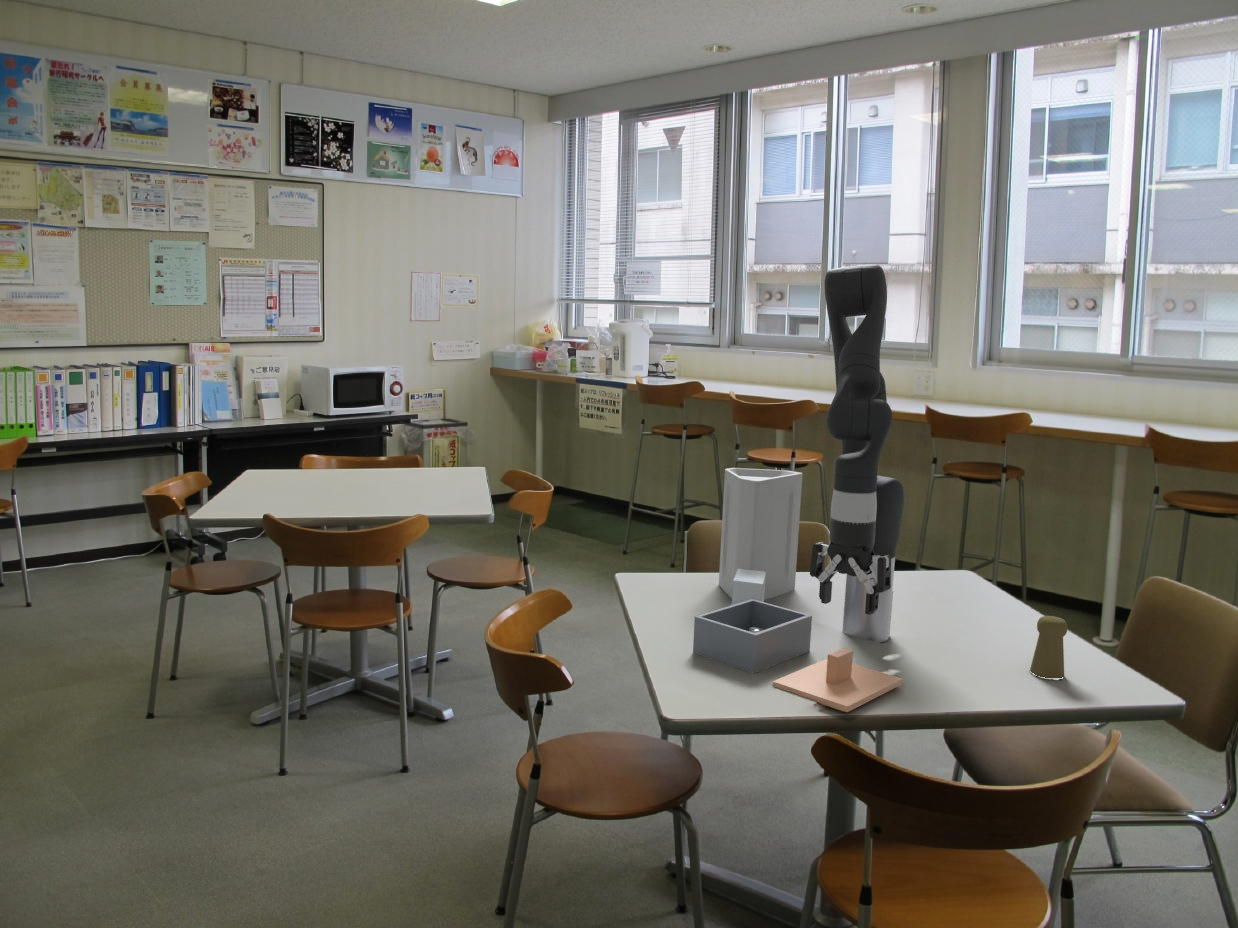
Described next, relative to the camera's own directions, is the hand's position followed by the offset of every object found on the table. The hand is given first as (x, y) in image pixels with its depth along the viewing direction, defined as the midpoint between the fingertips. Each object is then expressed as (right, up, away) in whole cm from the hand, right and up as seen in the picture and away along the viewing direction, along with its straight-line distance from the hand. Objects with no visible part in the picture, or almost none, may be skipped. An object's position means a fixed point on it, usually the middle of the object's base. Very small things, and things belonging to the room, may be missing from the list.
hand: (847, 608), depth 172 cm
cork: (+40, -15, +14) cm, 45 cm away
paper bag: (-9, -5, +63) cm, 64 cm away
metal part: (-13, -10, +21) cm, 27 cm away
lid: (-1, -15, +2) cm, 15 cm away
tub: (-14, -12, +17) cm, 25 cm away
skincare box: (-13, -9, +38) cm, 41 cm away
